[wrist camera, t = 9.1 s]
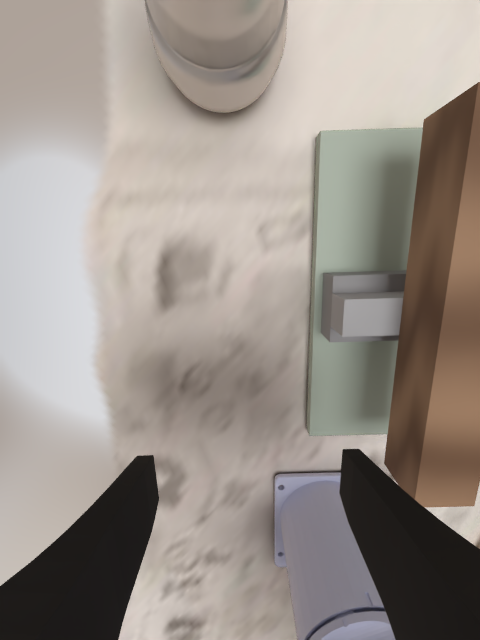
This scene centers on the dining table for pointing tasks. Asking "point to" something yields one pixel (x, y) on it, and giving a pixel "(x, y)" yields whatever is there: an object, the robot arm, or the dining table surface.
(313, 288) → the balance stand
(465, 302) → the walnut beam
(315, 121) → the dining table surface
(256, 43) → the plastic bottle
